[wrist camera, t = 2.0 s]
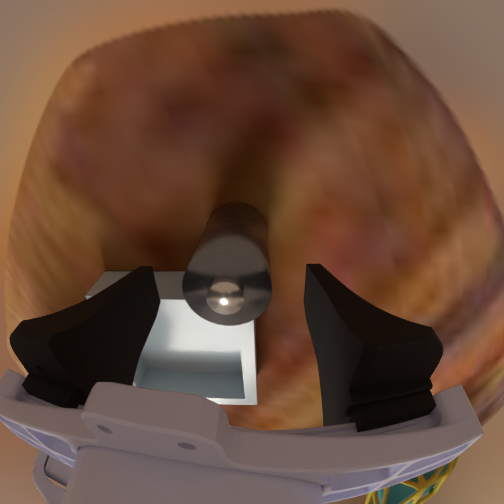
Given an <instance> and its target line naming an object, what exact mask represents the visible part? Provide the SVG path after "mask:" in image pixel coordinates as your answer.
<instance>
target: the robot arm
mask: <svg viewBox="0 0 504 504" xmlns="http://www.w3.org/2000/svg"><path fill="white" fill-rule="evenodd" d="M160 302H161V301H160V297H159V293H158V289H157V285H156V281H155V276H154V272H153V268H152V266H141V267H139V268H137V269H135V270H133V271H132V272H130V273H129V274H127V275H125V276H124V277H122V278H121V279H119V280H118V281H116V282H115V283H113V284H112V285H110V286H109V287H107V288H105V289H104V290H102V291H100V292H99V293H97V294H96V295H94V296H92V297H90V298H88V299H86V300H84V301H82V302H80V303H78V304H76V305H74V306H71V307H69V308H66V309H64V310H62V311H59V312H56V313H53V314H49V315H46V316H42V317H38V318H33V319H29V320H23V321H22V322H21V323H20V324H19V325H18V326H17V327H16V329H15V330H14V331H13V332H12V334H11V335H10V344H11V347H12V349H13V351H14V353H15V354H16V356H17V357H18V359H19V360H20V362H21V363H22V365H23V366H24V368H25V369H26V370H27V372H28V373H29V374H28V376H27V377H26V378H25V377H24V376H23V375H21V374H20V373H17V372H15V371H13V370H11V369H7V371H6V372H5V374H4V375H3V377H2V378H1V380H0V420H1V422H2V423H4V424H5V425H6V426H7V427H8V428H9V429H10V430H11V431H12V432H13V433H14V434H15V435H16V436H18V437H19V438H21V439H23V440H24V441H26V442H28V443H29V444H31V445H32V446H34V447H36V448H38V449H39V451H38V454H37V457H36V460H35V463H34V464H35V466H34V468H33V471H32V477H33V483H34V484H35V486H36V488H37V489H38V490H39V492H40V493H41V495H42V496H43V498H44V499H45V500H46V502H47V503H48V504H325V503H330V502H335V501H340V500H344V499H348V498H352V497H356V496H360V495H364V494H367V493H371V492H374V491H377V490H380V489H384V488H387V487H390V486H392V485H395V484H398V483H401V482H404V481H406V480H409V479H411V478H414V477H416V476H419V475H421V474H424V473H426V472H429V471H431V470H433V469H436V468H438V467H440V466H442V465H445V464H447V463H449V462H451V461H452V460H453V459H455V458H456V457H457V456H458V455H460V454H461V453H462V452H463V451H465V450H466V449H467V448H468V447H469V446H471V445H472V444H473V443H474V442H475V441H476V440H477V439H479V438H480V437H481V436H482V435H483V433H484V431H483V429H482V427H481V424H480V422H479V420H478V418H477V415H476V413H475V411H474V409H473V407H472V405H471V403H470V401H469V399H468V397H467V395H466V393H465V391H464V389H463V387H462V385H457V386H454V387H452V388H449V389H446V390H443V391H440V392H438V393H437V394H435V395H434V396H432V394H431V391H430V389H432V387H433V384H432V382H431V380H430V377H431V375H432V374H433V372H434V370H435V369H436V367H437V365H438V364H439V362H440V359H441V357H442V355H443V346H442V343H441V341H440V340H439V338H438V336H437V335H436V333H435V332H434V330H433V329H432V327H428V326H425V325H421V324H417V323H413V322H410V321H407V320H405V319H402V318H399V317H397V316H394V315H392V314H389V313H387V312H385V311H383V310H381V309H379V308H377V307H375V306H374V305H372V304H370V303H369V302H367V301H365V300H364V299H362V298H361V297H359V296H358V295H356V294H355V293H354V292H352V291H351V290H350V289H348V288H347V287H346V286H345V285H343V284H342V283H341V282H340V281H339V280H337V279H336V278H335V277H334V276H333V275H332V274H331V273H330V272H329V271H327V270H326V269H325V268H324V267H323V266H322V265H321V264H307V265H306V279H305V291H304V307H305V315H306V320H307V324H308V328H309V332H310V335H311V339H312V343H313V346H314V350H315V354H316V358H317V363H318V370H319V378H320V387H321V397H322V409H323V425H324V427H316V428H305V429H291V430H255V429H249V428H242V427H236V426H231V425H229V422H228V417H227V414H226V413H225V412H224V410H223V409H222V408H221V407H220V405H218V404H217V403H215V402H213V401H211V400H209V399H207V398H205V397H203V396H199V395H194V394H189V393H185V392H175V391H166V390H158V389H150V388H143V387H137V386H133V381H134V376H135V372H136V369H137V365H138V361H139V358H140V355H141V352H142V350H143V348H144V345H145V343H146V341H147V338H148V336H149V334H150V331H151V329H152V327H153V324H154V322H155V320H156V317H157V313H158V310H159V306H160ZM44 468H45V469H44ZM46 475H47V476H48V477H50V478H51V479H53V480H55V481H57V482H58V483H60V484H62V485H64V486H66V489H65V490H64V489H62V488H60V487H58V486H56V485H54V484H53V483H52V482H50V481H49V480H48V478H47V477H46Z"/></svg>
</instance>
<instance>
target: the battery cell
mask: <svg viewBox="0 0 504 504" xmlns="http://www.w3.org/2000/svg"><path fill="white" fill-rule="evenodd" d="M182 291H183V295H184V298H185V300H186V302H187V304H188V305H189V307H190V308H191V309H192V310H193V311H194V312H195V313H196V314H197V315H198V316H200V317H201V318H203V319H205V320H207V321H209V322H212V323H215V324H218V325H225V326H236V325H241V324H245V323H248V322H251V321H252V320H254V319H256V318H257V317H259V316H260V315H261V314H262V313H263V312H264V311H265V310H266V308H267V307H268V305H269V303H270V300H271V296H272V286H271V272H270V259H269V245H268V233H267V225H266V222H265V219H264V217H263V216H262V214H261V213H260V212H259V211H258V210H257V209H255V208H254V207H252V206H250V205H248V204H245V203H239V202H234V203H228V204H225V205H223V206H221V207H219V208H218V209H217V210H216V211H215V212H214V213H213V214H212V216H211V217H210V219H209V221H208V223H207V225H206V228H205V230H204V232H203V234H202V236H201V238H200V240H199V243H198V245H197V247H196V249H195V251H194V253H193V256H192V258H191V260H190V262H189V265H188V267H187V269H186V271H185V274H184V276H183V281H182Z"/></svg>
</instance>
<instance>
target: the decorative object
mask: <svg viewBox="0 0 504 504" xmlns="http://www.w3.org/2000/svg"><path fill="white" fill-rule="evenodd" d="M458 457H459V455H458V456H457V457H456V458H455V459H453V460H452V461H451V462H449V463H447V464H445V465H442V466H440V467H438V468H436V469H433V470H431V471H429V472H426V473H424V474H421V475H419V476H416V477H414V478H411V479H409V480H406V481H404V482H401V483H398V484H395V485H392V486H390V487H387V488H384V489H380V490H377V491H374V492H371V493H367V497H366V501H365V504H422V503H423V502H425V501H426V500H428V499H429V498H430V497H432V496H433V495H434V494H435V493H436V492H437V491H438V490H439V489H440V487H441V486H442V485H443V484H444V482H445V481H446V480H447V478H448V477H449V476H450V474H451V473H452V471H453V469H454V467H455V465H456V463H457V460H458ZM439 480H440V481H439ZM438 481H439V483H438V484H437V485H436V487H435V488H434V489H433V486H434V485H435V484H436V483H437V482H438ZM427 492H429V494H428V495H426V496H425V497H423V498H422V499H420V500H419V498H420V497H422V496H423V495H424V494H426V493H427ZM372 495H373V498H372V499H371V497H372ZM370 499H371V501H370ZM418 500H419V501H418ZM369 502H370V503H369Z"/></svg>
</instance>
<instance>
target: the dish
mask: <svg viewBox="0 0 504 504" xmlns="http://www.w3.org/2000/svg"><path fill="white" fill-rule="evenodd" d="M130 272H132V271H105V272H104V273H103V275H102V276H101V277H100V278H99V279H98V280H97V282H96V283H95V284H94V285H93V287H92V288H91V289H90V290H89V291H88V293H87V294H86V295H85V297H86V299H88V298H90V297H92V296H94V295H96V294H97V293H99V292H100V291H102V290H104V289H105V288H107V287H109V286H110V285H112V284H113V283H115V282H116V281H118V280H119V279H121V278H122V277H124V276H125V275H127V274H129V273H130ZM153 272H154V276H155V281H156V285H157V289H158V293H159V297H160V301H161V302H160V306H159V310H158V313H157V317H156V320H155V322H154V324H153V327H152V329H151V331H150V334H149V336H148V338H147V341H146V343H145V345H144V348H143V350H142V352H141V355H140V358H139V361H138V365H137V369H136V372H135V376H134V381H133V386H137V387H143V388H150V389H158V390H166V391H175V392H185V393H189V394H194V395H199V396H203V397H205V398H207V399H209V400H211V401H213V402H215V403H217V404H236V405H257V354H256V325H255V319H254V320H252V321H251V322H248V323H245V324H241V325H236V326H225V325H218V324H215V323H212V322H209V321H207V320H205V319H203V318H201V317H200V316H198V315H197V314H196V313H195V312H194V311H193V310H192V309H191V308H190V307H189V305H188V304H187V302H186V300H185V298H184V295H183V291H182V281H183V276H184V274H185V271H153Z"/></svg>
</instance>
